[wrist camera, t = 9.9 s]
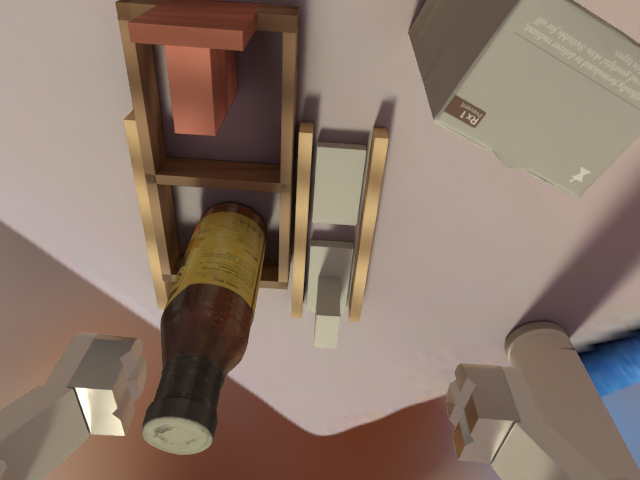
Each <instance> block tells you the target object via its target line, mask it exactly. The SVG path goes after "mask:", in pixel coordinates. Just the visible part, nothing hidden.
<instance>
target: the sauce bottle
mask: <svg viewBox="0 0 640 480" xmlns="http://www.w3.org/2000/svg"><path fill="white" fill-rule="evenodd" d="M265 248H266V229H265V225H264V223H263V221H262V219H261V218H260V217H259V216H258V215H257V214H256V213H255V212H254V211H253V210H251V209H250V208H248V207H246V206H243V205H241V204H235V203H222V204H218V205H215V206H213V207H211V208H210V209H209V210H208V211H207V212H205V213H204V214H203V216H202V218H201V219H200V221H199V222H198V224H197V226H196V228H195V230H194V233H193V235H192V238H191V240H190V243H189V246H188V249H187V251H186V254H185V256H184V259H183V261H182V264H181V267H180V270H179V272H178V274H177V277H176V280H175V282H174V285H173V288H172V291H171V294H170V296H169V298H168V301H167V304H166V306H165V309H164V312H163V315H162V318H161V345H162V363H163V370H162V377H161V380H160V384H159V387H158V389H157V393H156V396H155V398H154V401H153V402H152V403H151V404H150V406H149V407H148V409H147V411H146V415H145V418H144V422H143V426H142V433H143V437H144V438H145V440H146V441H147V442H148V443H149V444H150V445H152V446H154V447H156V448H158V449H160V450H163V451H166V452H170V453H174V454H185V455H187V454H194V453H198V452H201V451H203V450H205V449H206V448H208V447H209V446H210V445H211V444H212V442H213V438H214V435H215V430H216V426H217V411H216V409H217V405H218V400H219V395H220V390H221V389H222V387H223V384H224V378H225V376H226V375H227V373H228V372H229V371H231V370H232V369H233V368H234V367H235V366H236V365H237V364H239V362H240V361H241V360H242V357H243V355H244V353H245V351H246V348H247V344H248V338H249V332H250V327H251V325H252V322H253V318H254V313H255V307H256V301H257V295H258V289H259V284H260V278H261V272H262V266H263V260H264V254H265Z"/></svg>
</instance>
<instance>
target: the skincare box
mask: <svg viewBox="0 0 640 480" xmlns="http://www.w3.org/2000/svg"><path fill="white" fill-rule="evenodd" d="M408 34H409V36H410V39H411V43H412V46H413V50H414V53H415V56H416V60H417V63H418V67H419V70H420V73H421V77H422V80H423V83H424V87H425V91H426V94H427V98H428V102H429V105H430V109H431V112H432V116H433V119H434V122H435V123H436V124H439V125H441V126H443V127H445V128H446V129H448V130H450V131H452V132H454V133H456V134H458V135H459V136H461V137H463V138H465V139H467V140H469V141H471V142H472V143H474V144H476V145H478V146H480V147H482V148H484V149H486V150H488V151H490V152H491V153H493V154H494V156H495V158H496V159H497V160H498V161H499V162H500V163H501V164H503V165H505V166H506V167H509V168H512V169H516V170H524V171H526V172H528V173H529V174H531V175H533V176H535V177H537V178H539V179H540V180H542V181H544V182H546V183H548V184H550V185H552V186H554V187H555V188H557V189H559V190H561V191H563V192H565V193H567V194H569V195H571V196H574V197H579V196H581V195H582V194H583V192H584V191H585V190H586V189H587V188H588V187H589V186H590V185H591V184H592V183H593V182H594V181H595V180H596V179H597V178H598V177H599V176H600V175H601V174H602V173H603V172H604V171H605V170H606V169H607V168H608V167H609V166H610V165H611V164H612V163H613V162H614V161H615V160H616V159H617V158H618V157H619V156H620V155H621V154H622V153H623V152H624V151H625V150H626V149H627V148H628V147H629V146H630V145H631V144H632V143H633V142H634V141H635V140H636V139H637V138H638V137H639V136H640V44H639V43H638V42H636V41H635V40H633V39H632V38H630V37H629V36H627V35H626V34H624V33H623V32H622V31H620V30H618V29H617V28H615V27H614V26H612V25H611V24H609V23H607V22H606V21H604V20H603V19H601V18H600V17H598V16H597V15H595V14H593V13H592V12H590V11H589V10H587V9H586V8H584V7H582V6H581V5H579V4H578V3H576V2H575V1H573V0H426V2H425V4H424V5H423V7H422V9H421V11H420V12H419V14H418V16H417V18H416V19H415V21H414V23H413V25H412V26H411V28H410V30H409V32H408Z"/></svg>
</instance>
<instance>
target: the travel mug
mask: <svg viewBox="0 0 640 480" xmlns="http://www.w3.org/2000/svg"><path fill="white" fill-rule="evenodd" d="M505 351H506V354H507V357H508V359H509V362H510V365H511V367H514V368H519V369H520V370H521V371H522V373H523V375H524V378H525V380H526V383H527V385H528V388H529V390H530V393H531V395H532V398H533V400H534V403H535V405H536V408H537V410H538V413H539V415H540V418H541V420H542V423H543V424H545V425H550V426H551V427H552V428H553V429H554V430H555V431H556V432H557V433H558V434H559V435H560V436H561V437H562V438H564V439H565V440H566V441H567V442H568V443H569V444H570V445H571V446H572V447H573V448H574V449H575V450H576V451H577V452H579V453H580V454H581V455H582V456H583V457H584V458H585V459H586V460H587V461H588V462H589V463H590V464H591V465H592V466H594V467H595V468H596V469H597V470H598V471H599V472H600V473H601V474H602V475H603V476H604V477H605V478H606V479H607V480H640V470H639V468H638V466H637V464H636V463H635V461H634V459H633V457H632V455H631V453H630V451H629V450H628V448H627V446H626V444H625V442H624V440H623V439H622V436H621V435H620V433H619V431H618V429H617V427H616V425H615V423H614V422H613V420H612V418H611V416H610V414H609V412H608V410H607V408H606V407H605V405H604V403H603V401H602V399H601V397H600V395H599V394H598V392H597V390H596V388H595V386H594V384H593V382H592V380H591V379H590V377H589V375H588V373H587V371H586V369H585V367H584V365H583V364H582V362H581V360H580V358H579V356H578V354H577V352H576V351H575V349H574V347H573V345H572V343H571V341H570V339H569V337H568V336H567V334H566V332H565V330H564V329H563V328H562V327H561V326H559V325H557V324H555V323H552V322H546V321H538V322H532V323H528V324H525V325H523V326H521V327H519V328H517V329H516V330H514V331H513V332H512V333H511V334H510V335H509V336H508V338H507V340H506V342H505Z"/></svg>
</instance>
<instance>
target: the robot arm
mask: <svg viewBox="0 0 640 480" xmlns="http://www.w3.org/2000/svg"><path fill="white" fill-rule="evenodd" d="M142 349H143V345H142V341H141V339H139V338H131V337H121V336H111V335H102V334H91V333H78V334H77V335H75V336H74V337H73V338H72V340H71V342H70V343H69V345H68V347H67V348H66V350H65V352H64V353H63V355H62V357H61V358H60V360H59V362H58V364H57V365H56V367H55V368H54V370H53V372H52V373H51V375H50V377H49V378H48V380H47V382H46V383H45V385H44V386H37V387H35V388H34V389H32V390H31V391H29V392H28V393H26V394H25V395H23V396H21V397H20V398H19V399H17V400H16V401H14V402H12V403H11V404H9V405H8V406H6V407H5V408H3V409H2V410H0V480H44V479H45V478H46V477H47V476H48V475H49V474H50V473H51V472H52V471H53V470H54V469H55V468H56V467H58V466H59V464H61V463H62V462H63V461H64V460H65V459H66V458H67V457H68V456H69V455H70V454H71V453H72V452H74V451H75V450H76V449H77V448H78V447H79V446H80V445H81V444H82V443H83V442H84V441H85V440H86V439H87V438H88V437H90V435H89V434H96V435H97V434H98V435H118V436H125V434H126V432H127V429H128V427H129V424H130V422H131V419H132V416H133V414H134V409H133V403H132V402H134V401H135V400H136V399H137V398H139V397H140V396H141V393H142V391H143V388H144V385H145V380H146V375H147V366H146V360H145V359H144V358H143V357H142V356H141V355H140V354H141V352H142ZM455 376H456V380H455V381H453V382H452V383H450V386H449V389H448V392H447V412H448V417H449V420H450V421H451V422H452V423H453V424H454V426H455V427H456V429H455V431H454V434H453V440H454V445H455V449H456V453H457V458H458V460H459V461H469V462H480V463H489V464H491V466H492V467H493V469H494V470H495V471H496V473H497V474H498V475H499V477H500V478H501V479H502V480H607V479H606V478H605V477H604V476H603V475H602V474H601V473H600V472H599V471H598V470H597V469H596V468H595V467H594V466H592V465H591V464H590V463H589V462H588V461H587V460H586V459H585V458H584V457H583V456H582V455H581V454H580V453H579V452H577V451H576V450H575V449H574V448H573V447H572V446H571V445H570V444H569V443H568V442H567V441H566V440H565V439H564V438H562V437H561V436H560V435H559V434H558V433H557V432H556V431H555V430H554V429H553V428H552V427H551V426H550V425H545V424H543V423H542V420H541V418H540V415H539V413H538V410H537V408H536V405H535V403H534V400H533V398H532V395H531V393H530V390H529V388H528V385H527V383H526V380H525V378H524V375H523V373H522V371H521V370H520V369H519V368H514V367H502V366H493V365H478V364H463V363H460V364H459V365H458V366H457V368H456V371H455Z"/></svg>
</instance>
